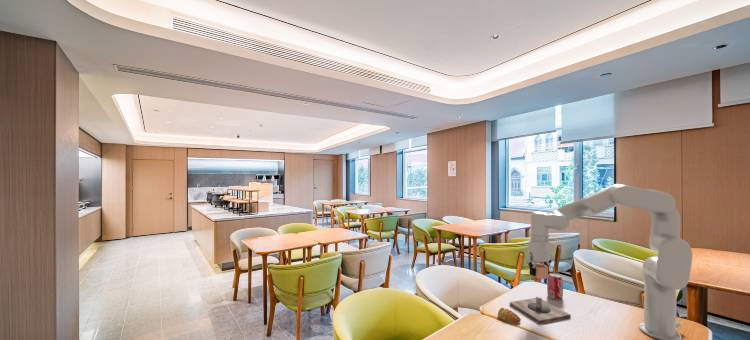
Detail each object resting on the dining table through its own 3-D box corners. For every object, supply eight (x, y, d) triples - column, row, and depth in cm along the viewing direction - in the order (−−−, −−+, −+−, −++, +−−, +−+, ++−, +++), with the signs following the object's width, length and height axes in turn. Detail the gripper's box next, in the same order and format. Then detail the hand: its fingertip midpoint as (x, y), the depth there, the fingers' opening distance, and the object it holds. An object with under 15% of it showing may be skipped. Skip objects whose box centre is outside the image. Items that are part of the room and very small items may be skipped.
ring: (539, 272, 143) (539, 262, 142) (551, 277, 136) (551, 267, 136) (527, 274, 141) (527, 263, 141) (539, 279, 134) (539, 268, 134)
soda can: (562, 296, 154) (562, 274, 154) (563, 301, 148) (563, 278, 148) (547, 293, 158) (547, 271, 157) (547, 298, 152) (547, 275, 151)
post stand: (538, 300, 150) (538, 287, 150) (570, 317, 132) (570, 303, 132) (509, 305, 145) (509, 292, 145) (539, 323, 127) (539, 309, 127)
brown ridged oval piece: (523, 321, 130) (523, 313, 130) (516, 326, 126) (516, 318, 126) (503, 313, 138) (503, 305, 137) (496, 317, 133) (496, 309, 133)
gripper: (547, 234, 144) (546, 270, 144) (518, 237, 139) (518, 273, 139) (560, 238, 137) (560, 275, 137) (531, 241, 132) (530, 279, 132)
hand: (539, 274), depth 138 cm, fingers closed on ring, 7 cm apart
